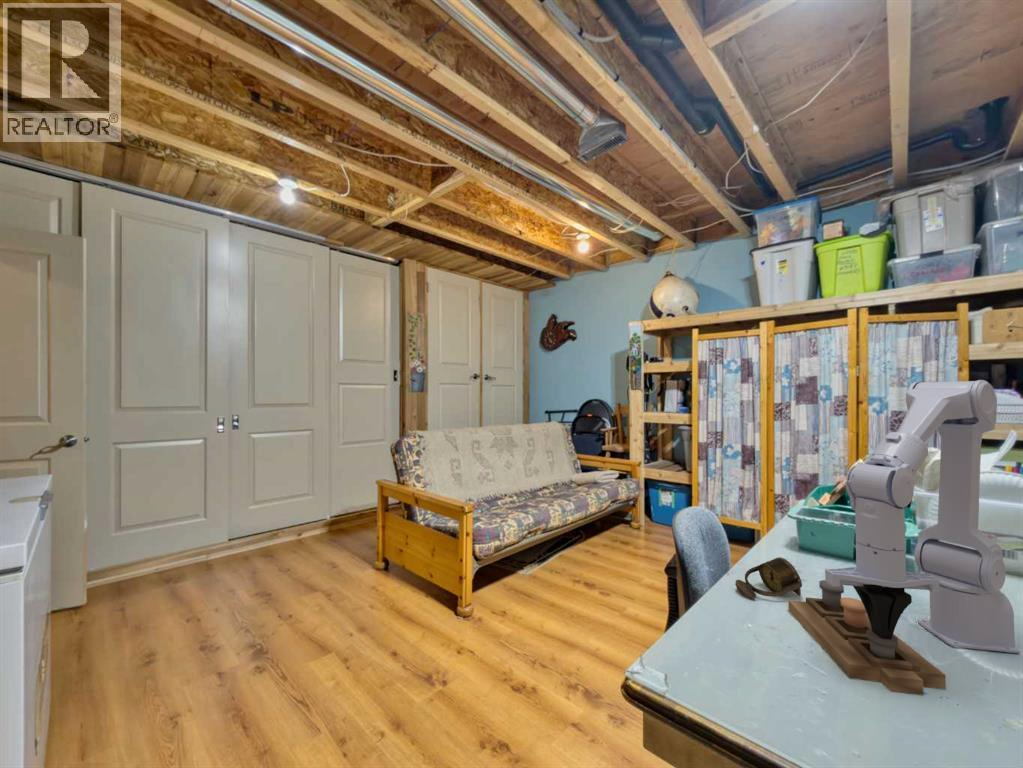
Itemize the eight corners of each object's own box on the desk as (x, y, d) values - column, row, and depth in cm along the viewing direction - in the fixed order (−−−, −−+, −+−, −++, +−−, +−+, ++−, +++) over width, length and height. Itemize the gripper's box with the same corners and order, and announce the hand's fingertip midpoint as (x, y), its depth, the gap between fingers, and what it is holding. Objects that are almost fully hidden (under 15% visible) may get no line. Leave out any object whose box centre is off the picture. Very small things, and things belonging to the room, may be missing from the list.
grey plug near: (888, 652, 65) (887, 630, 65) (904, 667, 62) (904, 643, 62) (861, 649, 66) (861, 627, 66) (876, 664, 63) (875, 640, 63)
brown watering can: (816, 581, 83) (793, 552, 92) (746, 570, 85) (730, 542, 95) (809, 613, 84) (787, 581, 94) (740, 601, 86) (725, 571, 96)
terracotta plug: (860, 618, 72) (859, 598, 72) (873, 630, 69) (873, 608, 69) (836, 616, 73) (836, 596, 73) (848, 627, 69) (848, 606, 70)
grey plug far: (837, 599, 79) (836, 581, 79) (848, 609, 76) (848, 589, 76) (815, 597, 80) (815, 579, 80) (825, 607, 76) (825, 587, 76)
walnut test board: (853, 612, 81) (852, 597, 81) (957, 699, 58) (957, 678, 58) (784, 605, 84) (783, 591, 84) (857, 687, 60) (857, 666, 60)
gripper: (911, 538, 68) (913, 624, 67) (813, 534, 69) (814, 618, 69) (951, 554, 61) (954, 651, 60) (841, 549, 62) (842, 643, 62)
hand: (881, 635), depth 64 cm, fingers closed, pressing on grey plug near
